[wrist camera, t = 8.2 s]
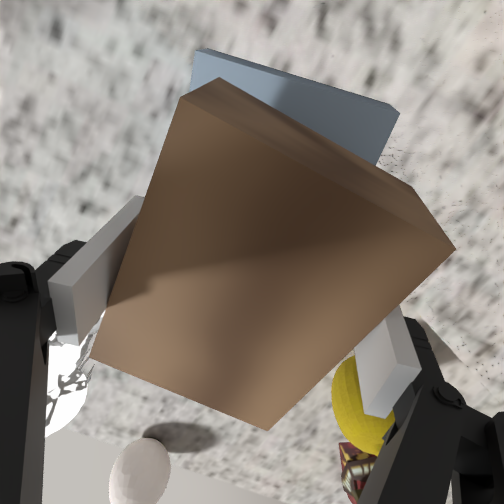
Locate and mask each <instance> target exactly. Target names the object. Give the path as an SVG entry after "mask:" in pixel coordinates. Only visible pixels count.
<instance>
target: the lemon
mask: <svg viewBox="0 0 504 504" xmlns="http://www.w3.org/2000/svg"><path fill="white" fill-rule="evenodd" d="M331 393H332V406H333V411H334V414H335V417H336V420H337V422H338V425H339V427H340V429H341V431H342V433H343V434H344V436H345V437H346V438H347V439H348V440H349V441H350V442H351V443H352V444H353V445H354V446H355V447H357V448H359V449H360V450H362V451H364V452H367V453H369V454H374V455H376V456H377V457H378V454H379V452H380V450H381V447H382V445H383V443H384V440H383V439H382V437H383V436H384V435H385V433H386V432H387V431H388V429H389V428H390V427H391V426H392V424H393V423H394V422H395V417H394V412H393V409H392V411H391V412H390V413H389V415H388V416H387V417H386V419H384V418H380V417H376V416H371V415H367V414H364V409H363V403H362V397H361V390H360V384H359V378H358V371H357V365H356V359H355V355H354V356H352V357H350V358H348V359H347V360H345V361H344V362H343V363H342V364H341V365H340V366H339V368H338V369H337V371H336V373H335V375H334V378H333V382H332V390H331Z"/></svg>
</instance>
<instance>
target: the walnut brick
mask: <svg viewBox="0 0 504 504" xmlns="http://www.w3.org/2000/svg"><path fill="white" fill-rule="evenodd" d="M455 250H456V248H455V247H454V245H453V244H452V242H451V241H450V240H449V238H448V237H447V235H446V234H445V233H444V231H443V230H442V228H441V227H440V225H439V224H438V223H437V221H436V220H435V218H434V217H433V216H432V214H431V213H430V211H429V210H428V209H427V207H426V206H425V204H424V203H423V201H422V200H421V199H420V197H419V196H418V194H417V193H416V192H415V190H414V189H413V187H412V186H410V185H408V184H406V183H405V182H403V181H401V180H399V179H398V178H396V177H394V176H392V175H391V174H389V173H387V172H385V171H384V170H382V169H380V168H378V167H377V166H375V165H373V164H371V163H369V162H368V161H366V160H364V159H362V158H361V157H359V156H357V155H355V154H354V153H352V152H350V151H348V150H347V149H345V148H343V147H341V146H340V145H338V144H336V143H334V142H333V141H331V140H329V139H327V138H326V137H324V136H322V135H320V134H319V133H317V132H315V131H313V130H312V129H310V128H308V127H306V126H305V125H303V124H301V123H299V122H298V121H296V120H294V119H292V118H291V117H289V116H287V115H285V114H284V113H282V112H280V111H278V110H277V109H275V108H273V107H271V106H269V105H268V104H266V103H264V102H262V101H261V100H259V99H257V98H255V97H254V96H252V95H250V94H248V93H247V92H245V91H243V90H241V89H240V88H238V87H236V86H234V85H233V84H231V83H229V82H227V81H226V80H224V79H222V78H220V77H218V78H216V79H214V80H212V81H210V82H208V83H206V84H204V85H203V86H201V87H199V88H197V89H195V90H193V91H191V92H189V93H187V94H185V95H183V96H181V97H180V99H179V102H178V105H177V107H176V110H175V113H174V116H173V119H172V122H171V125H170V127H169V130H168V133H167V136H166V139H165V142H164V145H163V147H162V150H161V153H160V156H159V159H158V162H157V164H156V167H155V170H154V173H153V176H152V179H151V182H150V184H149V187H148V190H147V193H146V196H145V199H144V202H143V204H142V207H141V210H140V213H139V216H138V219H137V221H136V224H135V227H134V230H133V233H132V236H131V239H130V241H129V244H128V247H127V250H126V253H125V256H124V259H123V261H122V264H121V267H120V270H119V273H118V276H117V278H116V281H115V284H114V287H113V290H112V293H111V296H110V298H109V301H108V304H107V308H106V310H105V313H104V316H103V318H102V321H101V324H100V327H99V330H98V333H97V335H96V338H95V341H94V344H93V347H92V350H91V353H90V355H89V358H92V359H94V360H96V361H99V362H101V363H104V364H106V365H109V366H111V367H113V368H116V369H118V370H121V371H123V372H125V373H128V374H130V375H133V376H135V377H138V378H140V379H142V380H145V381H147V382H150V383H152V384H155V385H157V386H159V387H162V388H164V389H167V390H169V391H172V392H174V393H176V394H179V395H181V396H184V397H186V398H188V399H191V400H193V401H196V402H198V403H201V404H203V405H205V406H208V407H210V408H213V409H215V410H218V411H220V412H222V413H225V414H227V415H230V416H232V417H234V418H237V419H239V420H242V421H244V422H247V423H249V424H251V425H254V426H256V427H259V428H261V429H264V430H266V431H268V430H269V429H270V428H272V427H273V426H274V425H275V424H276V423H277V422H278V421H279V420H280V419H281V418H282V417H283V416H284V415H285V414H286V413H287V412H288V411H289V410H290V409H291V408H292V407H293V406H294V405H295V404H296V403H297V402H298V401H299V400H301V399H302V398H303V397H304V396H305V395H306V394H307V393H308V392H309V391H310V390H311V389H312V388H313V387H314V386H315V385H316V384H317V383H318V382H319V381H320V380H321V379H322V378H323V377H324V376H325V375H326V374H327V373H328V372H330V371H331V370H332V369H333V368H334V367H335V366H336V365H337V364H338V363H339V362H340V361H341V360H342V359H343V358H344V357H345V356H346V355H347V354H348V353H349V352H350V351H351V350H352V349H353V348H354V347H355V346H356V345H358V344H359V343H360V342H361V341H362V340H363V339H364V338H365V337H366V336H367V335H368V334H369V333H370V332H371V331H372V330H373V329H374V328H375V327H376V326H377V325H378V324H379V323H380V322H381V321H382V320H383V319H384V318H385V317H387V316H388V315H389V314H390V313H391V312H392V311H393V310H394V309H395V308H396V307H397V306H398V305H399V304H400V303H401V302H402V301H403V300H404V299H405V298H406V297H407V296H408V295H409V294H410V293H411V292H412V291H413V290H414V289H416V288H417V287H418V286H419V285H420V284H421V283H422V282H423V281H424V280H425V279H426V278H427V277H428V276H429V275H430V274H431V273H432V272H433V271H434V270H435V269H436V268H437V267H438V266H439V265H440V264H441V263H442V262H444V261H445V260H446V259H447V258H448V257H449V256H450V255H451V254H452V253H453V252H454V251H455Z"/></svg>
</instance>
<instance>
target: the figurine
mask: <svg viewBox="0 0 504 504" xmlns="http://www.w3.org/2000/svg"><path fill="white" fill-rule="evenodd" d="M104 313H105V311H104V312H103V314H102V315H101V317H100V318H99V319H98V321H97V322H96V324H95V325H94V326H93V328H92V329H91V331H90V332H89V333H88V335H87V336H86V338H85V339H84V340H83V342H82V343H81V345H80V346H74V345H70V344H66V343H62V342H58V340H57V334H56V331H55V332H54V333H53V334H52V336H51V337H50V338H49V339H48V342H49V366H48V387H47V407H46V427H45V437H47V436H48V435H49V434H51V433H53V432H55V431H57V430H59V429H61V428H62V427H64V426H65V425H66V424H67V423H68V422H69V421H71V420H72V419H73V418H74V417H75V415H76V414H77V413H78V412H79V410H80V408H81V406H82V405H83V404H84V402H85V398H86V394H87V387H88V382H89V381H90V379H91V375H90V374H91V372H92V370H93V368H92V369H91V370H90V372H89V373H88V375H87V377H85V375H84V374H83V372H84V371H83V372H81V369H82V367H83V365H84V364H85V363H86V361H87V360H88V359H89V357H88V358H87V359H86V360H85V361H84V363H83V364H82V365H81V367H80V368H79V365H80V364H81V362H82V361H83V359H84V357H85V355H86V354H87V353H88V351H87V348H88V344H89V341H90V340H91V338H92V336H93V334H95V333H97V331H98V330H99V327H100V324H101V321H102V318H103V316H104ZM89 350H90V349H89ZM86 351H87V352H86ZM94 365H95V364H94ZM93 367H94V366H93ZM84 370H85V369H84ZM89 375H90V377H89ZM88 377H89V378H88Z"/></svg>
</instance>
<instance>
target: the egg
mask: <svg viewBox="0 0 504 504" xmlns="http://www.w3.org/2000/svg"><path fill="white" fill-rule="evenodd" d="M170 469H171V464H170V458H169V455H168V452H167V450H166V448H165V447H164V446H163V444H162V443H160V442H159V441H158V440H156V439H153V438H142V439H139V440H137V441H134V442H133V443H131V444H130V445H128V446H127V447H126V448H125V449H124V450H123V451H122V452H121V453H120V455H119V456H118V458H117V459H116V461H115V463H114V466H113V468H112V471H111V475H110V480H109V499H110V503H111V504H156V503H157V501H158V500H159V499H160V497H161V496H162V495H163V493H164V491H165V488H166V486H167V483H168V480H169V476H170Z"/></svg>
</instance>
